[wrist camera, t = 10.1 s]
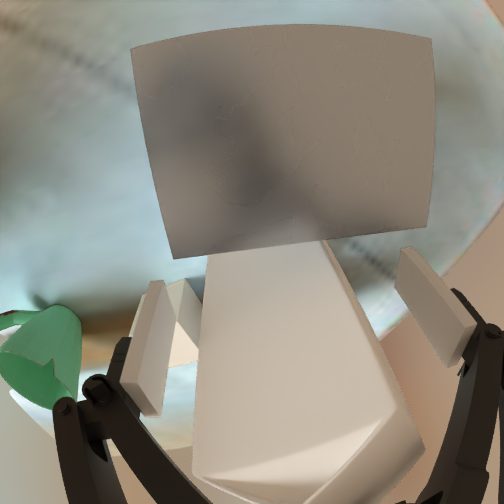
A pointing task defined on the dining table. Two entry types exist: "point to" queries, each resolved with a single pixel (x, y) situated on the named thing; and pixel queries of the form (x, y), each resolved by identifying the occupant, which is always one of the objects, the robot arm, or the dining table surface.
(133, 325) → the block
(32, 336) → the mug
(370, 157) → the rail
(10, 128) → the dining table surface
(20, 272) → the dining table surface
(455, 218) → the dining table surface
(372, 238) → the dining table surface
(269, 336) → the milk
